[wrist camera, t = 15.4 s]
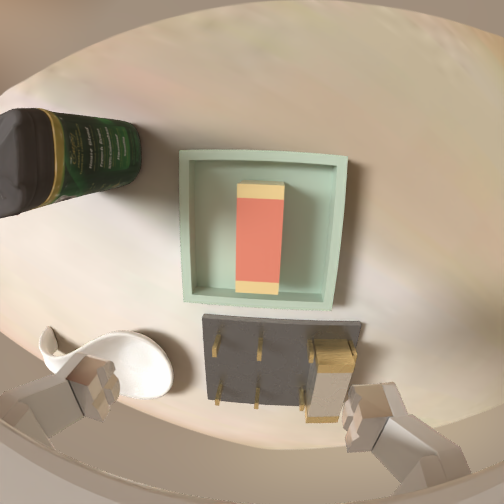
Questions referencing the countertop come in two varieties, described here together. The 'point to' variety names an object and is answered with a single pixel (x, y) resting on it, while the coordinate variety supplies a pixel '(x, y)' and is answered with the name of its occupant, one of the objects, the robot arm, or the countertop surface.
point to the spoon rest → (121, 361)
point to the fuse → (259, 236)
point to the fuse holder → (280, 362)
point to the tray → (293, 232)
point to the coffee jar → (62, 157)
